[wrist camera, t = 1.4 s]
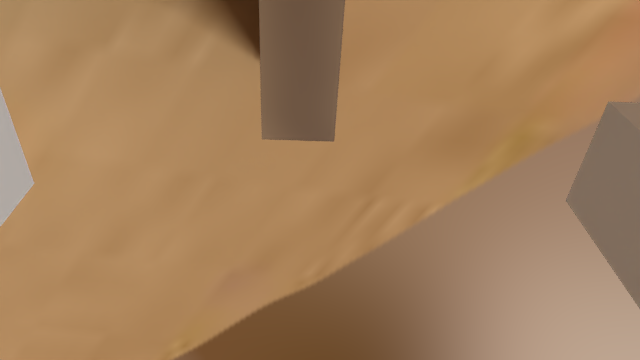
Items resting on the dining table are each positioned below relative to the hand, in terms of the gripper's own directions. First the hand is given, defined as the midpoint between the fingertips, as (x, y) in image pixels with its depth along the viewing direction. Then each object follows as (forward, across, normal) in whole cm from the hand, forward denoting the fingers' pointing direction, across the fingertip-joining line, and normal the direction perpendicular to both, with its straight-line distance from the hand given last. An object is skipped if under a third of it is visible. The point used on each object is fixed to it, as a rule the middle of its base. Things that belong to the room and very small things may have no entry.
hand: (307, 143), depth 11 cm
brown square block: (+11, 0, 0) cm, 11 cm away
